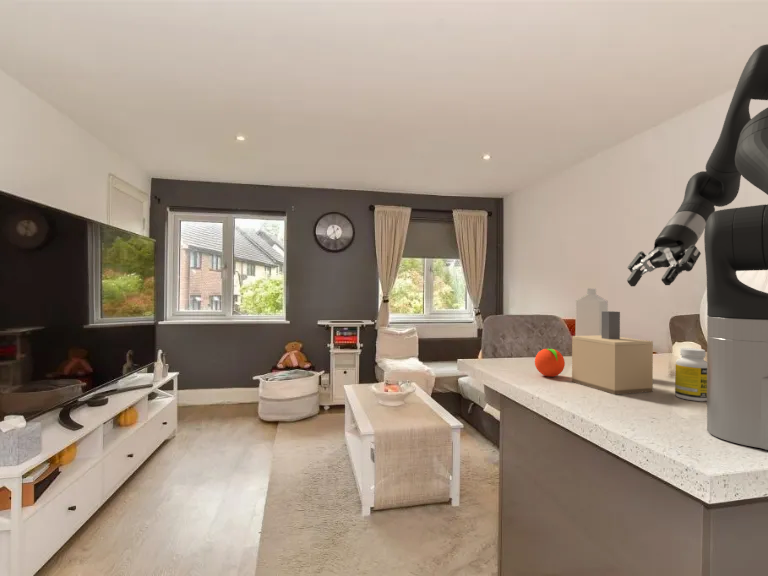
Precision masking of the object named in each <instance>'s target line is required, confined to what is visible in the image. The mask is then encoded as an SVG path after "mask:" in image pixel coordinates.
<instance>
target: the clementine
mask: <svg viewBox="0 0 768 576" xmlns="http://www.w3.org/2000/svg"><path fill="white" fill-rule="evenodd" d="M565 361H566V360H565V358H564V356H563V355H562V354H561V352H560V351H559V350H557V349H553V348H551V347H549V348H542V350H539V351H538V352H537V354H536V356H535V357H534V365H535V368H536V370H537V371H538V372H539V373H540V374H541V375H543V376H545V377H550V378H551V377H552V378H553V377H556V376H558V375H560V374H562V372H563V371H564V369H565V365H566V363H565Z"/></svg>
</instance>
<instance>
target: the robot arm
mask: <svg viewBox="0 0 768 576" xmlns="http://www.w3.org/2000/svg"><path fill="white" fill-rule="evenodd" d="M751 100H753V101H754V100H755V101H758V100H759V101H768V43H767V44H762V45H760V46H759V47H757V48H756V49H755V50H754V51H753V52H752V54H751V55H750V57H749V58H748V60H747V62H746V63H745V66H744V67H743V70H742V72H741V74H740V77H739V79H738V82H737V84H736V87H735V90H734V92H733V95H732V97H731V101H730V103H729V106H728V110H727V112H726V115H725V118H724V121H723V125H722V129H721V132H720V134H719V137H718V140H717V141H716V144H715V146H714V148H713V149H712V151H711V153H710V155H709V157H708V160H707V161H706V163H705V171H703V170H702V171H698V172H696V173H694V174H693V175H692V176H690V178H689V180H688V181H687V184H686V186H685V189H684V190H685V191H684V197H683V201H682V202H681V204H680V206H679V207H678V209H677V211H676V212H675V214H674V215H673V216H671V218H670V219H669V220H668V222H666V224H665V226H664V227H663V229H662V230H661V231H660V233H659V234H658V236H657V237H656V238H655V240H654V245H653V249H651V250H650V251H649V252H648V253H647V252H646V253H645V252H644V251H642V250H641V251H639V252H638V253H637V254H636V255H635V257H634V258H633V259H632V260H631V262H630V263H629V264H628V266H627V269H628V270H629V271H630V272H631V273H630V275H629V276H628V278H627V279H626V281H627V284H628V285H629V286H630V287H636V286H637V284H638V283H639V281H640V280H641V278H642V277H643V276H644V275H645V274H647V273H648V272H649V273H651V272H653V271H654V270H656V269H659V268H667V269H666V271H665V273H664V274H663V275H662V277H661V282H662V283H663V284H664V285H665V286H670V285H671V284H673V282H674V281H675V280H676V279H677V277H678V276H679V274H682V273H683V272H684V271H685V272H691V271H692V270H693V268H694V267H695V264H696V263H697V261H698V259H700V258H699V257H700V256H701V254H702V253H701V252H700V250H699V249H698V247H697V246H696V244H697V243H698V241H699V240H700V238H701V237H702V235H703V233H704V235H703V236H704V237H703V238H704V255H705V258H704V259H705V269H706V301H707V302H706V304H707V307H706V308H707V313H706V315H707V319H706V320H707V327H706V329H707V331H706V332H707V335H706V339H707V340H706V343H707V344H706V351H707V352H706V362H707V401H706V431H707V433H709V434H710V435H711V436H714V437H716V438H719V439H721V440H725V441H728V442H731V443H734V444H739V445H742V446H748V447H754V448H759V449H763V450H765V451H768V292H766V291H762V290H758V289H755V287H754V288H753V287H751V286H749V285H748V284H745V283H744V282H742V281H740V280H739V277H738V275H737V272H741V271H744V272H745V271H746V272H747V271H749V272H750V271H768V203H767V204H766V203H765V204H759V205H750V206H741V207H732V208H724V209H719V210H718V209H717V210H716V208H715V207H718V208H720V207H721V208H722V207H726V206H728V205H730V204H732V203H733V201H734V200H735V199H736V198H737V196H738V195H739V191H740V187H741V178H742V177H743V178H744V179H745V180H746V181H747V182H749V183H750V184H751V185H752V186H754V187H755V188H756V189H759V190H760V191H762V192H763V193H764V194H766V195H767V196H768V107H766V108H764V109H762V110H761V111H760V112H758V113H757V114H756V115H755V116H753V117H751V114H750V104H751ZM648 262H649V263H650V264H651V266H650V265H649V264H648ZM643 267H644V268H643ZM642 268H643V269H642Z"/></svg>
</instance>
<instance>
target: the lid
mask: <svg viewBox="0 0 768 576" xmlns="http://www.w3.org/2000/svg"><path fill="white" fill-rule="evenodd" d="M620 328H621V312H620V311H613V310H612V311H611V310H610V311H602V335H598V336H576V335H572V339H578V340H584V341H591V342H597V343H604V344H610V345H641V344H654V341H653V340H645V339H639V338H638V339H637V338H631V337H622V336H621V335H620V334H621V329H620Z"/></svg>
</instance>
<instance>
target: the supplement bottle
mask: <svg viewBox="0 0 768 576" xmlns="http://www.w3.org/2000/svg"><path fill="white" fill-rule="evenodd" d="M679 352H680V353H679V354H680V356H681V357H680V358H678V359H676V361H675V384H674V386H675V388H674V394H675V396H676V397H677V398H680V399H683V400H687V401H688V400H689V401H693V402H707V360H705V358H706V350H705V349H702V348H695V347H694V348H693V347H681V348H680V350H679Z"/></svg>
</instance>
